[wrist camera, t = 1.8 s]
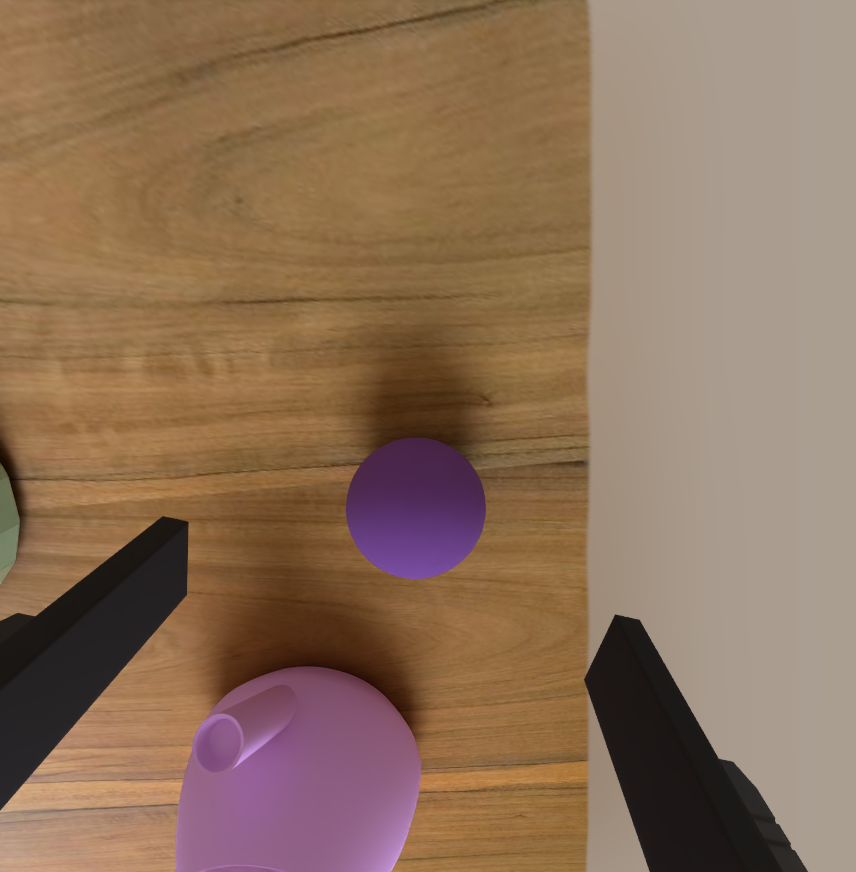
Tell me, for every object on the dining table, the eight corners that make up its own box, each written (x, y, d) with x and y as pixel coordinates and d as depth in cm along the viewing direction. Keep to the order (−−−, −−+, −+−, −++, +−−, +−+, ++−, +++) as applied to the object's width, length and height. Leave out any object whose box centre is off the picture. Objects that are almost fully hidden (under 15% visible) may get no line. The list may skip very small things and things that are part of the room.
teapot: (396, 591, 23) (352, 819, 13) (439, 815, 30) (432, 1080, 20) (169, 606, 25) (-24, 824, 15) (259, 817, 31) (167, 1067, 21)
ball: (416, 394, 19) (401, 438, 14) (506, 474, 20) (526, 546, 15) (338, 477, 21) (296, 547, 15) (425, 547, 22) (415, 636, 17)
